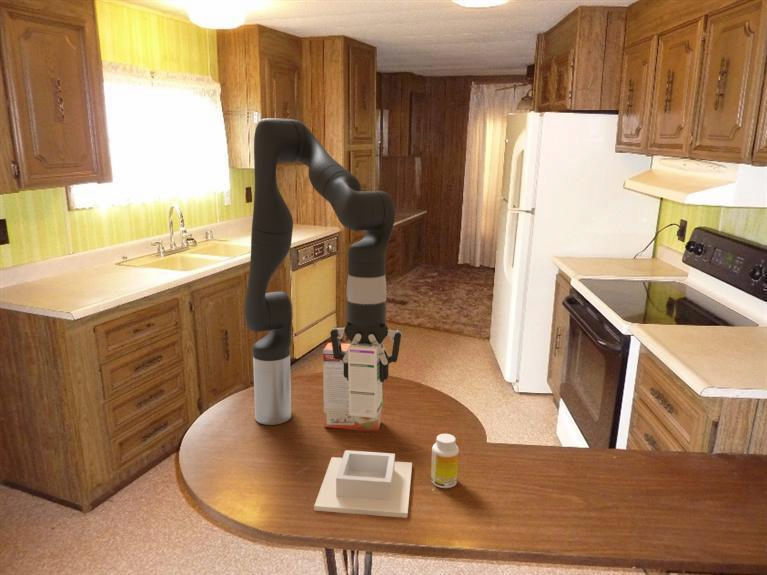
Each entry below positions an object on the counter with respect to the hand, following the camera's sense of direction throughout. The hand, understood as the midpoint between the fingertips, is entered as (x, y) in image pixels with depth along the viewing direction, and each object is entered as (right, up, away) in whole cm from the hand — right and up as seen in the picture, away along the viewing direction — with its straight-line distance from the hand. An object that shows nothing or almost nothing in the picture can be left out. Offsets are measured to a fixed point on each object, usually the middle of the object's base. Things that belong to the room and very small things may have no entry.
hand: (365, 379), depth 111 cm
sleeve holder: (0, -23, +6) cm, 24 cm away
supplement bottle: (+16, -23, +8) cm, 29 cm away
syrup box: (0, -7, +2) cm, 7 cm away
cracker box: (-4, -17, +33) cm, 37 cm away
